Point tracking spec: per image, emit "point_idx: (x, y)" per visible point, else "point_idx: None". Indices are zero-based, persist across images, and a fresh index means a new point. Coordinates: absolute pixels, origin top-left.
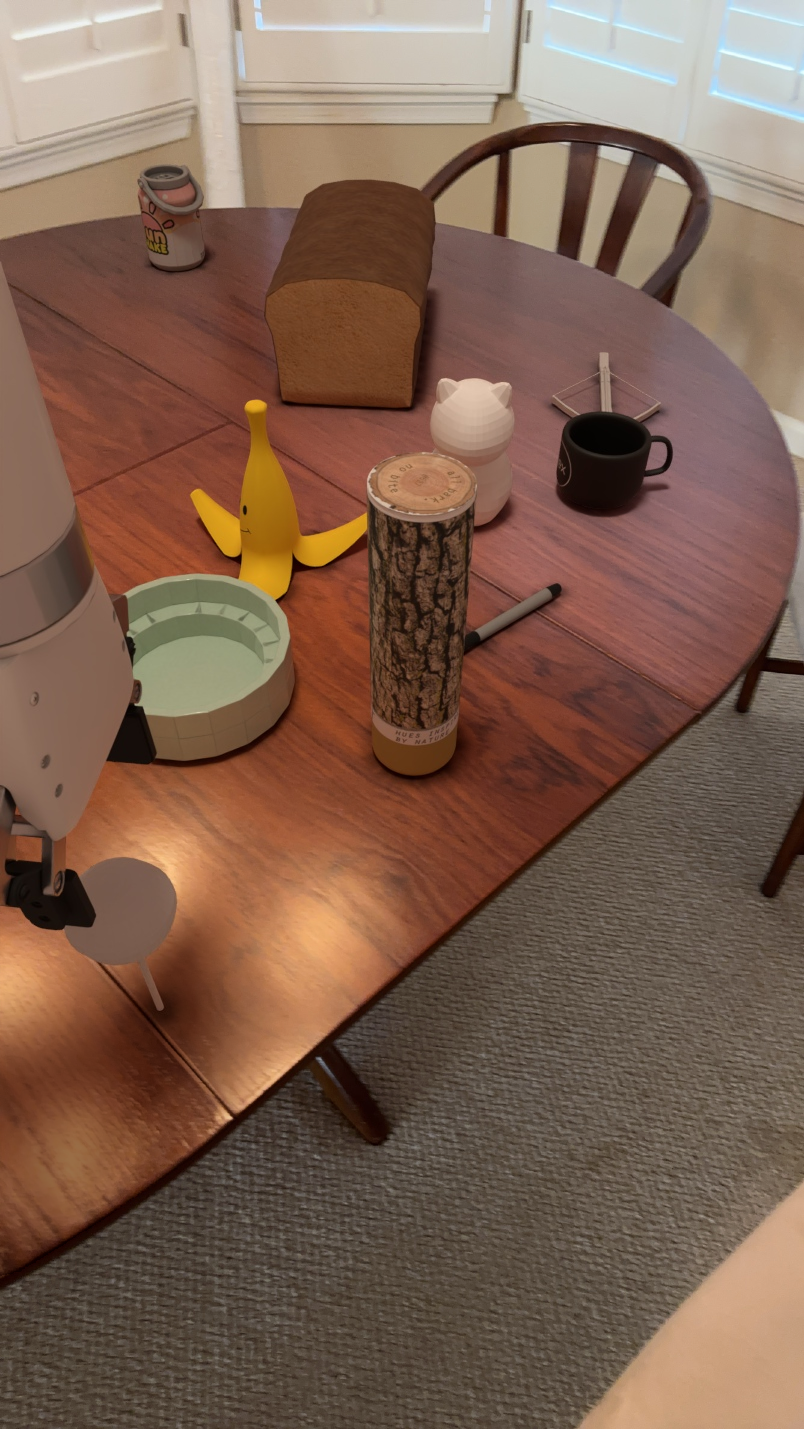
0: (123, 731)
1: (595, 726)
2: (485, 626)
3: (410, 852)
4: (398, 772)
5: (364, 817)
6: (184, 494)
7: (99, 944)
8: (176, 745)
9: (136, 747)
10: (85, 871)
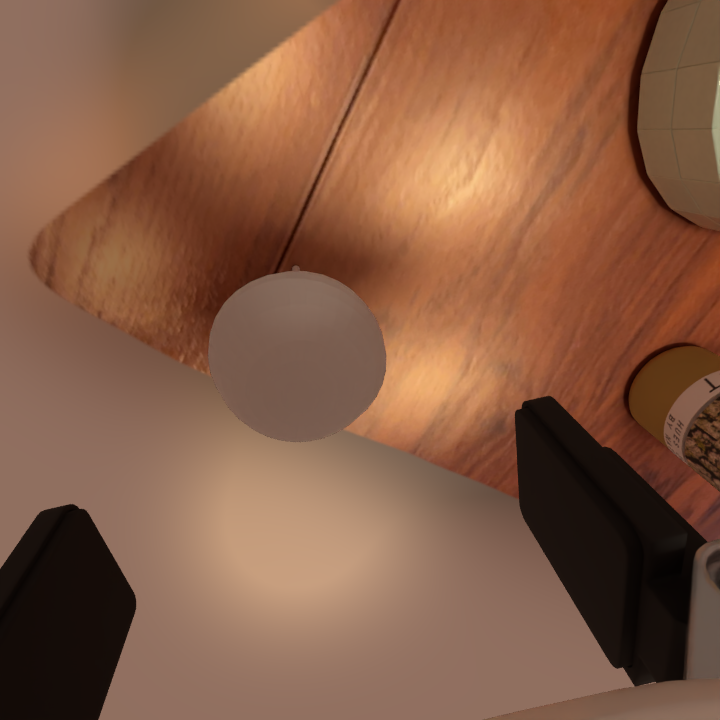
0: (580, 578)
1: (695, 519)
2: None
3: None
4: (631, 387)
5: (570, 371)
6: None
7: (218, 387)
8: (660, 123)
9: (548, 540)
10: (321, 316)
